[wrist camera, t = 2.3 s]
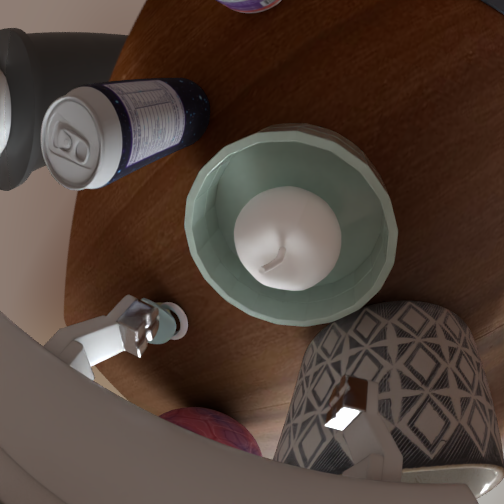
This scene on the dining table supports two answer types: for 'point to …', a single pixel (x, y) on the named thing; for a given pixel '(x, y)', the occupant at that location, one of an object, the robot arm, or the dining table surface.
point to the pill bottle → (249, 5)
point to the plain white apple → (287, 238)
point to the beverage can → (120, 128)
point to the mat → (496, 4)
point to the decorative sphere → (214, 427)
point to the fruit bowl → (311, 179)
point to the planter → (401, 395)
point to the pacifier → (168, 322)
